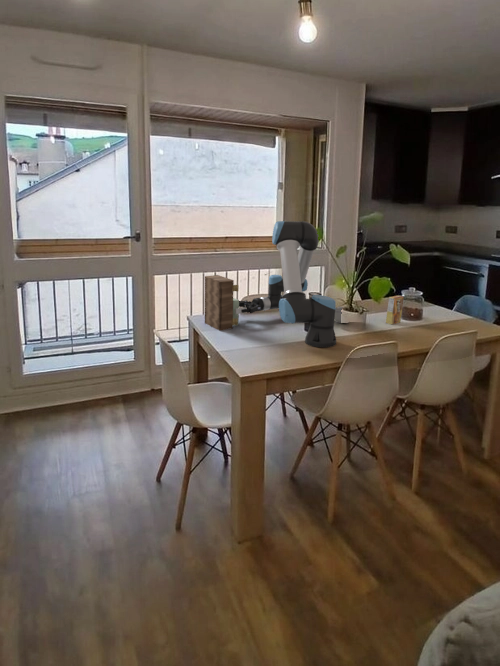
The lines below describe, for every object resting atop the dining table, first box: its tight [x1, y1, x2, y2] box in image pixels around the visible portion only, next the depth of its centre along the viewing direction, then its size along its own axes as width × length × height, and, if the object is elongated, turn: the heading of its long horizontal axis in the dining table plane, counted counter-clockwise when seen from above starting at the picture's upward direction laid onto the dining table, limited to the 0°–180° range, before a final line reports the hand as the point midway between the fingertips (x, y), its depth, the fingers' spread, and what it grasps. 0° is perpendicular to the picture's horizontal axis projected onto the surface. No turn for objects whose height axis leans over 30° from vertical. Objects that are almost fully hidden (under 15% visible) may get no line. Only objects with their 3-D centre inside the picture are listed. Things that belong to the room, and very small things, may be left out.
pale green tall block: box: [233, 297, 240, 327], centre depth 266 cm, size 8×4×14 cm, turn 34°
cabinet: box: [204, 274, 239, 331], centre depth 259 cm, size 18×10×26 cm, turn 34°
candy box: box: [385, 295, 405, 325], centre depth 278 cm, size 9×4×15 cm, turn 129°
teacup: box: [334, 306, 344, 324], centre depth 278 cm, size 14×11×8 cm
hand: (228, 308), depth 264 cm, fingers open, 13 cm apart
